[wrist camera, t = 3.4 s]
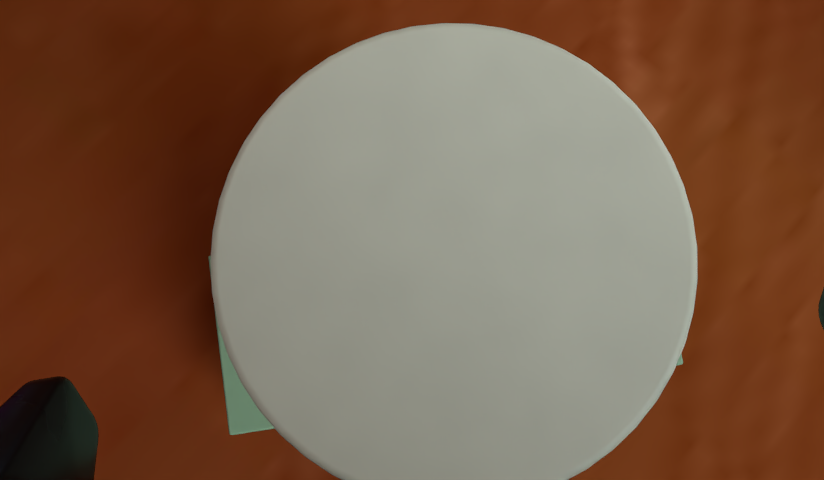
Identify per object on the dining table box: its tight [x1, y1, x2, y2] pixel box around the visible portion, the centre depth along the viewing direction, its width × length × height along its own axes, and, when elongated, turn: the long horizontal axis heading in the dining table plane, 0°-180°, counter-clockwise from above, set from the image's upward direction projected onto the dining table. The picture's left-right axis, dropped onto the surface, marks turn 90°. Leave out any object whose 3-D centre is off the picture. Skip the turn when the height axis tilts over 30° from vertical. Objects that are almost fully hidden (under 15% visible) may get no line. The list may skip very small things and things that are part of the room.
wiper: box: [209, 23, 697, 480], centre depth 10 cm, size 4×9×13 cm, turn 99°
